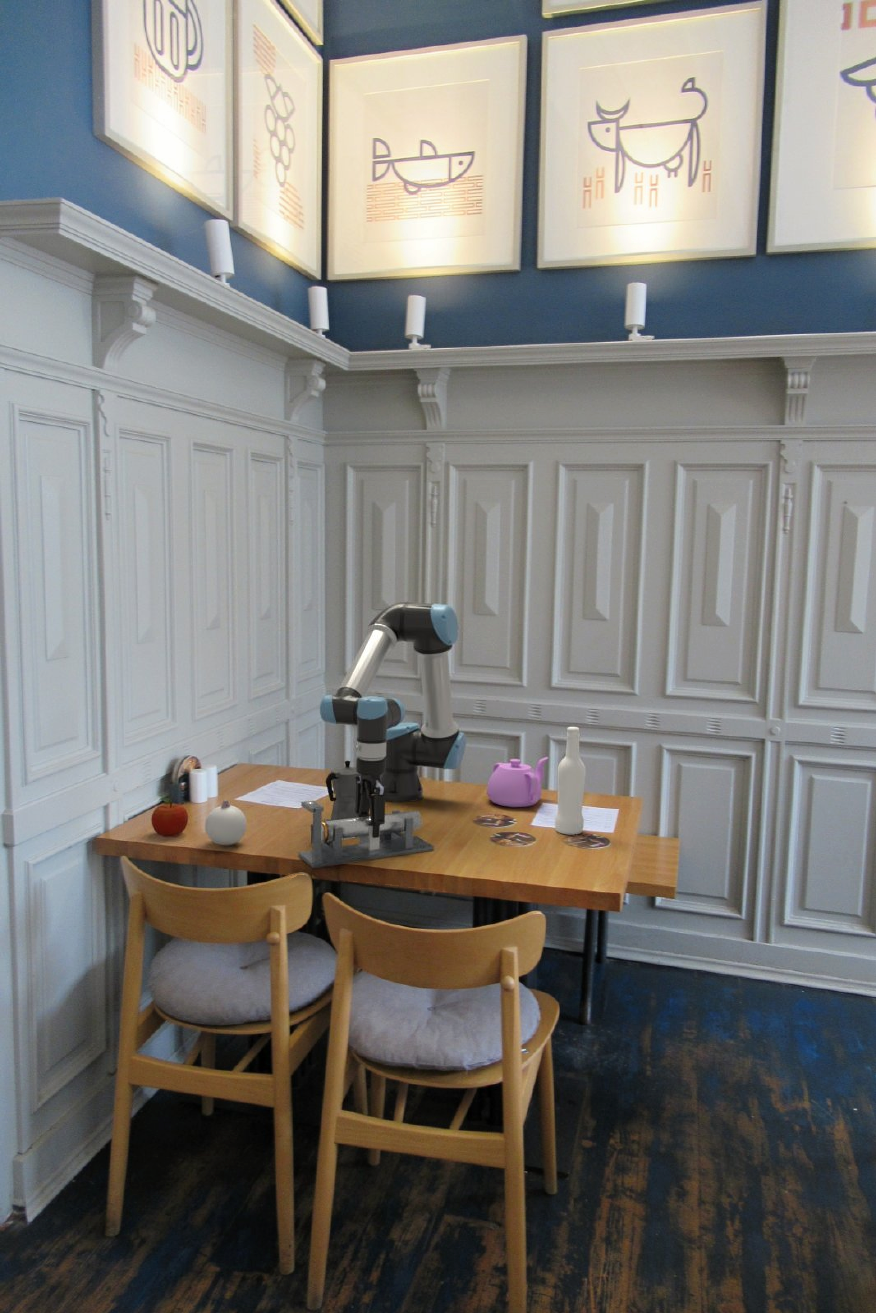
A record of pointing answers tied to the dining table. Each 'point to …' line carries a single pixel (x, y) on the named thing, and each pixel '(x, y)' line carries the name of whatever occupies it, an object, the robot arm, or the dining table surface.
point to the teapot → (515, 784)
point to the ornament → (225, 824)
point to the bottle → (570, 787)
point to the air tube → (361, 827)
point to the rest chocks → (382, 836)
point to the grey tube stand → (341, 854)
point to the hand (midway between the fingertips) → (369, 845)
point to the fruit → (169, 819)
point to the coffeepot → (343, 792)
